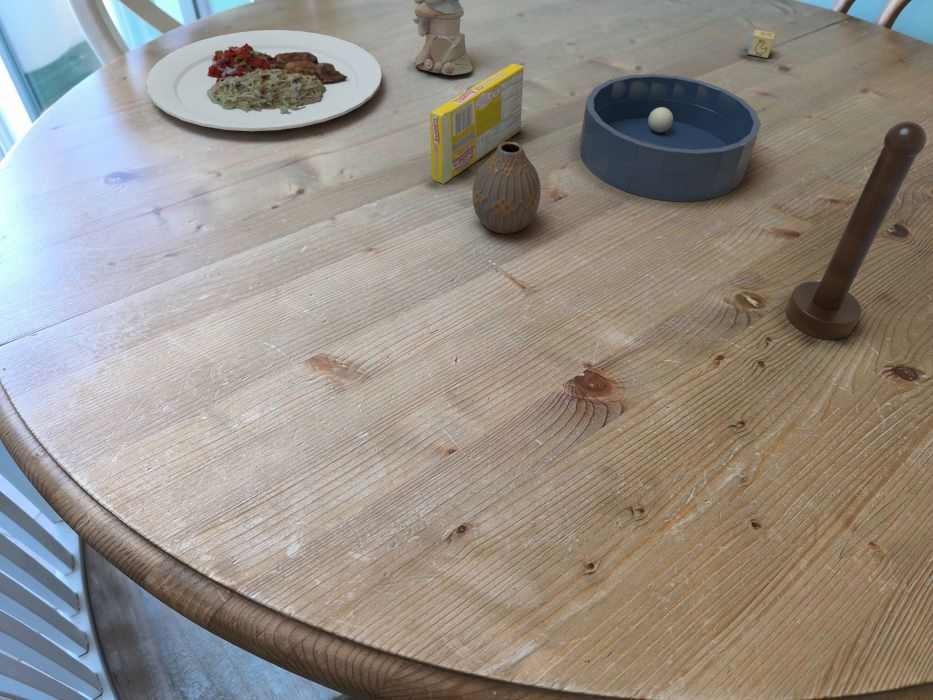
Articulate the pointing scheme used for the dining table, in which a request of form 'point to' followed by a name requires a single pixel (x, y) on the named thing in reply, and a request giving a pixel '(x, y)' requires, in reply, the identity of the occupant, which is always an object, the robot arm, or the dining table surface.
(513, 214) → the vase
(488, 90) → the candy box
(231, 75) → the plated food
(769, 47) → the alphabet block
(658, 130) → the dough ball
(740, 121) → the bowl
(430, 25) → the figurine
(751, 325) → the dining table surface
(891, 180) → the wooden joystick
